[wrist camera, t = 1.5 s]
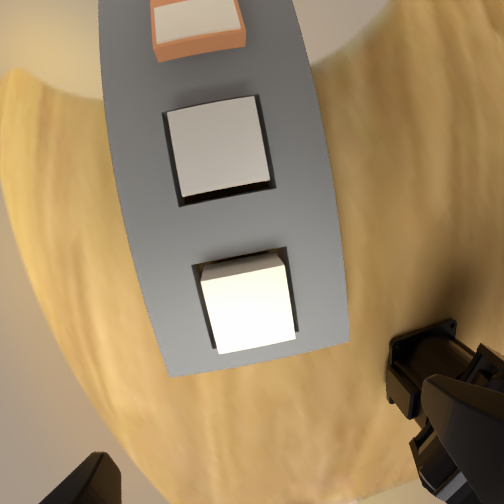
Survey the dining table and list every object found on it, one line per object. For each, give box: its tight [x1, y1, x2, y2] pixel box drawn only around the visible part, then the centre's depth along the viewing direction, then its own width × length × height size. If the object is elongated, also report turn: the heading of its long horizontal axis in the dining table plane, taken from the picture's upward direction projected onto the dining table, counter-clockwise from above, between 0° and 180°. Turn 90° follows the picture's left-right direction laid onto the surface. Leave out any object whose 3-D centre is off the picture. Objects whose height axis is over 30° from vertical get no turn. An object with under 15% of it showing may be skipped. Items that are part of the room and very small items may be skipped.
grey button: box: [167, 96, 270, 197], centre depth 15 cm, size 4×4×3 cm
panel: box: [99, 0, 350, 377], centre depth 16 cm, size 11×24×4 cm, turn 10°
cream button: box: [201, 252, 296, 354], centre depth 17 cm, size 4×4×3 cm
